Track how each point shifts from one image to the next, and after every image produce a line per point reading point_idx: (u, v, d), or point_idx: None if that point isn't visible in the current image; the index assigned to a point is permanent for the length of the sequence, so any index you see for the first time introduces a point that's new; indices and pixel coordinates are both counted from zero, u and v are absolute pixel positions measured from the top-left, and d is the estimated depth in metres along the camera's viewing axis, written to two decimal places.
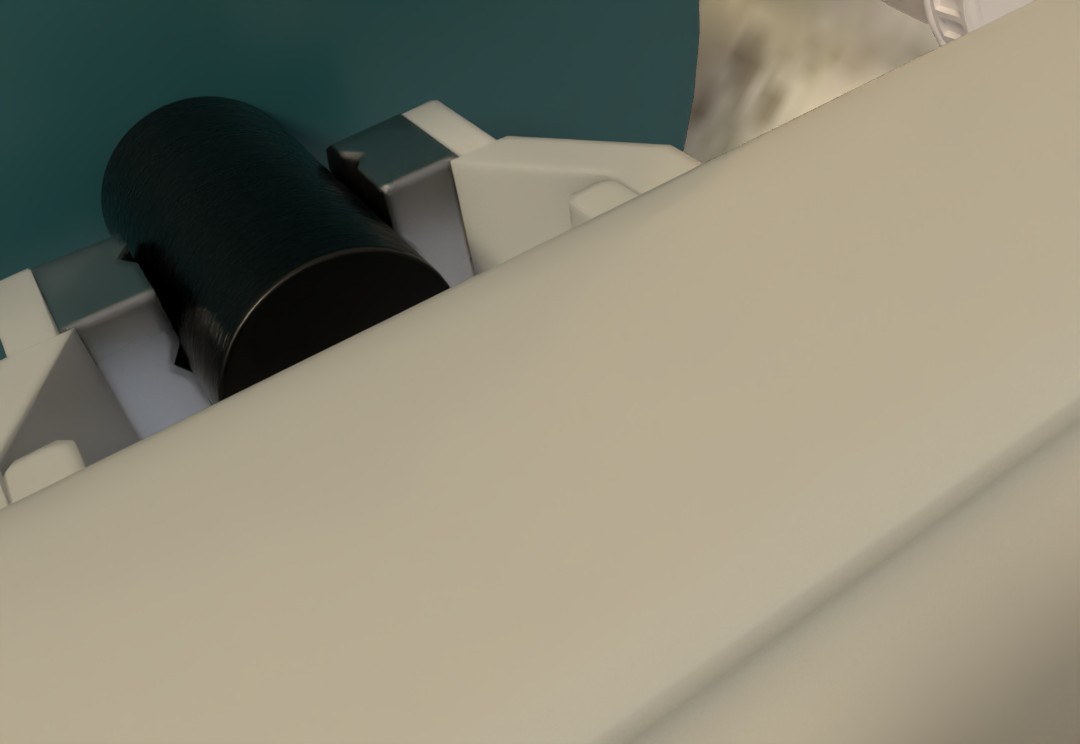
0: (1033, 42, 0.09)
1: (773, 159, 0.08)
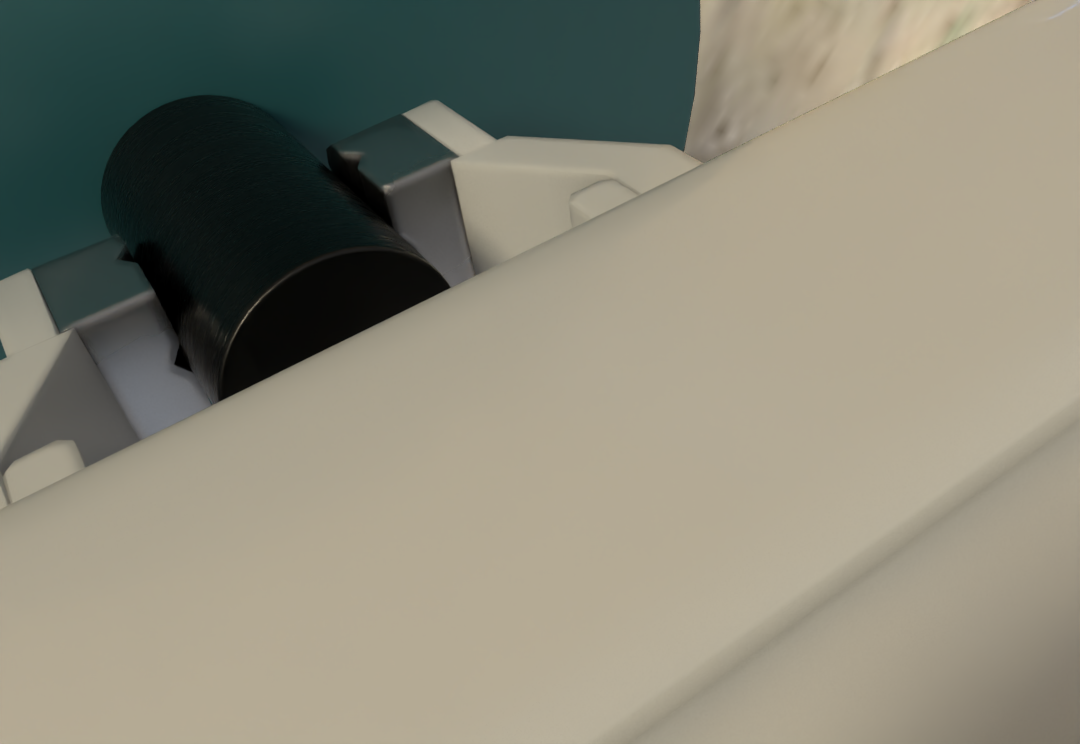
0: (1033, 42, 0.09)
1: (773, 159, 0.08)
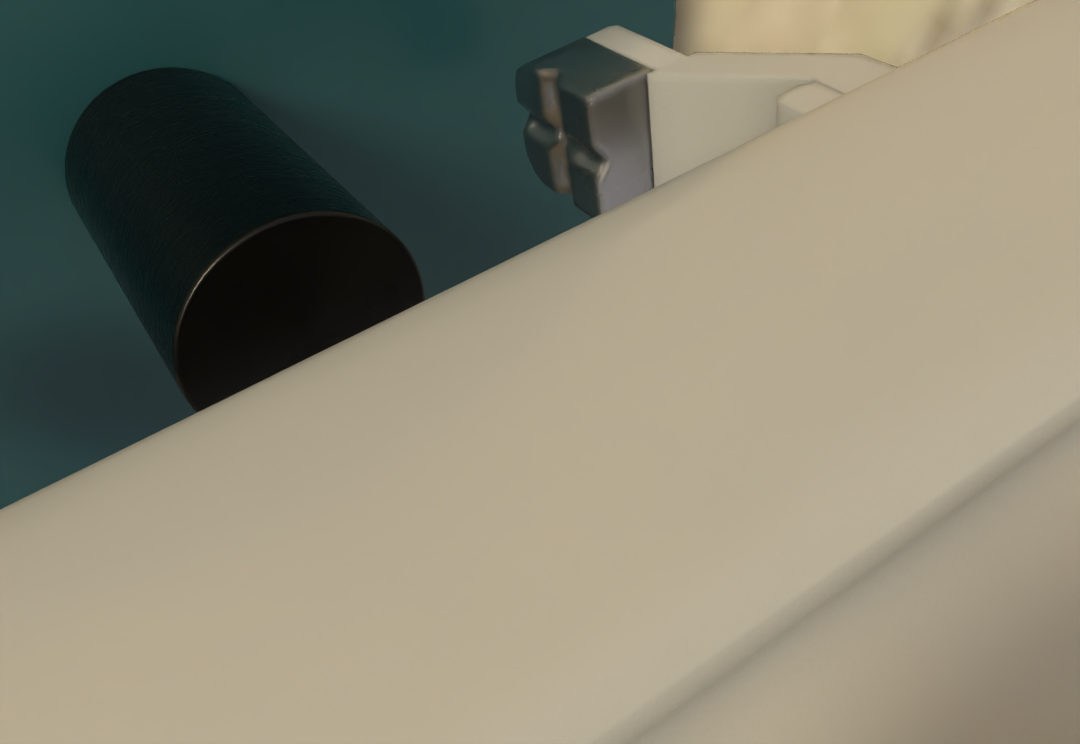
0: (1033, 42, 0.09)
1: (773, 159, 0.08)
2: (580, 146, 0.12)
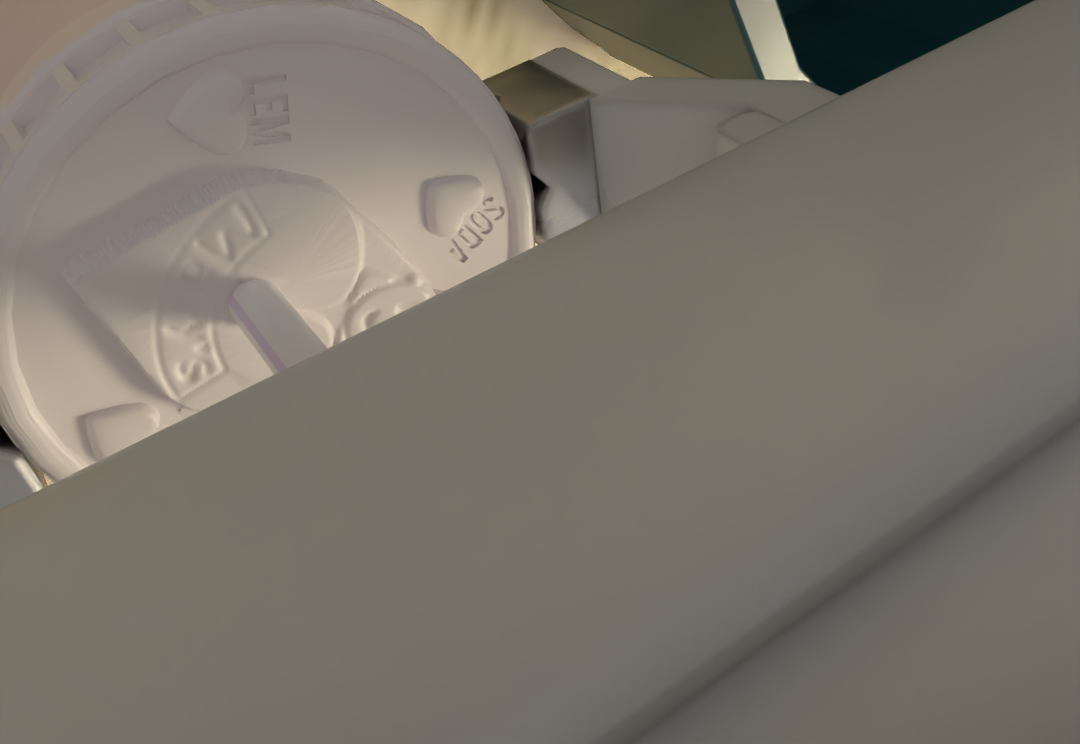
0: (1033, 42, 0.09)
1: (773, 159, 0.08)
2: None
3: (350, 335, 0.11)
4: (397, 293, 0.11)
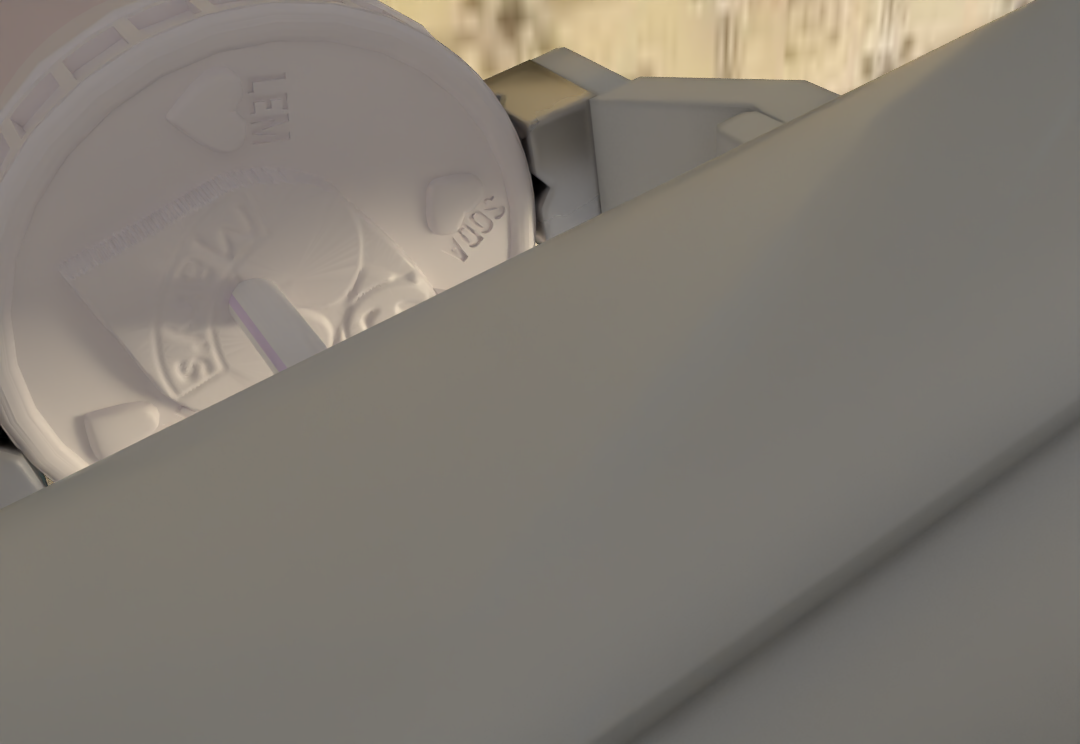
0: (1033, 42, 0.09)
1: (773, 159, 0.08)
2: None
3: (350, 334, 0.11)
4: (397, 292, 0.11)
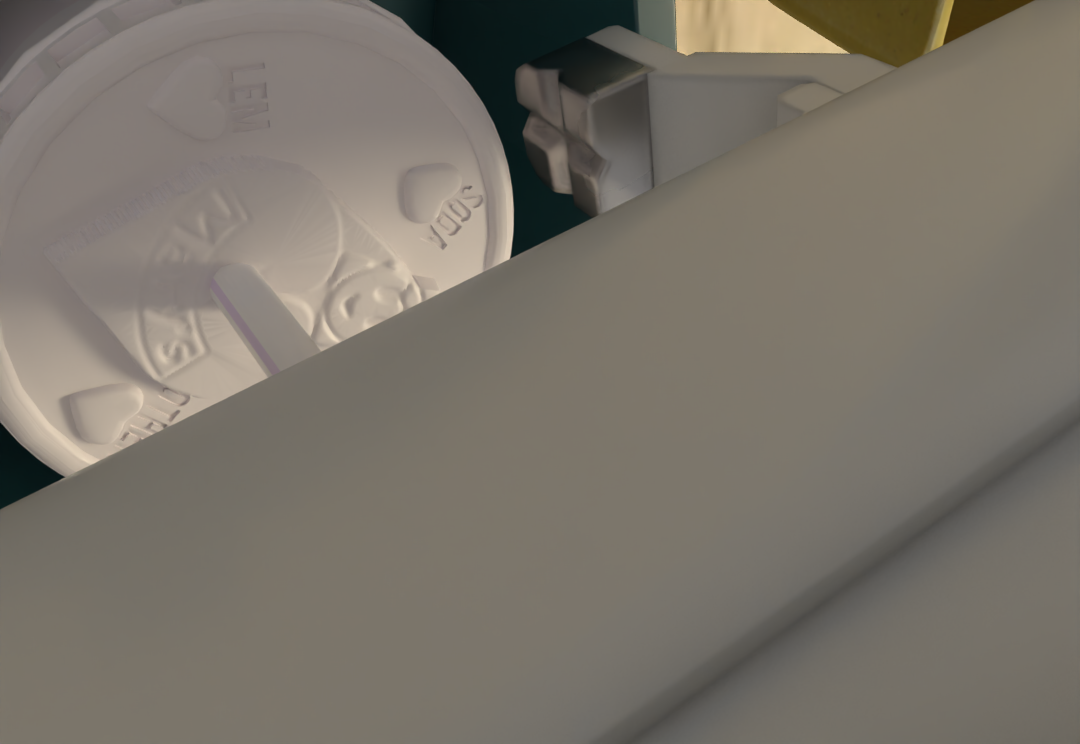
0: (1033, 42, 0.09)
1: (773, 159, 0.08)
2: (580, 145, 0.12)
3: (330, 319, 0.11)
4: (376, 278, 0.12)
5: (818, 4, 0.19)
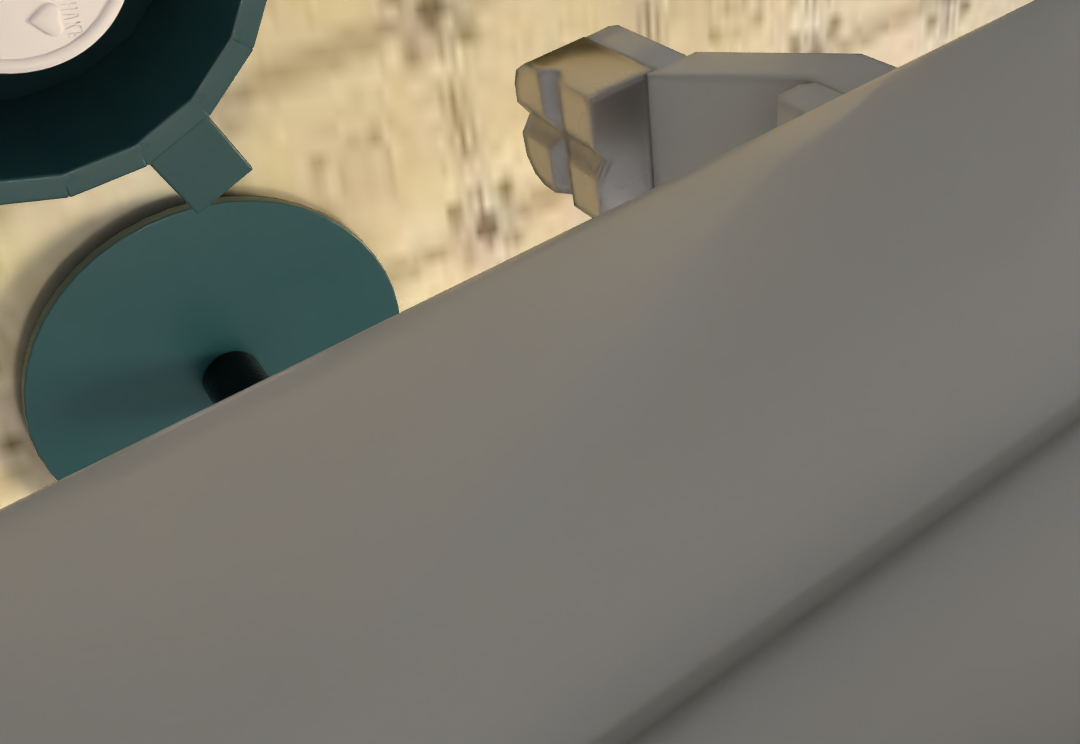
0: (1033, 42, 0.09)
1: (773, 159, 0.08)
2: (580, 146, 0.12)
3: None
4: None
5: None
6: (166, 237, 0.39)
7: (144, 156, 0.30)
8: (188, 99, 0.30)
